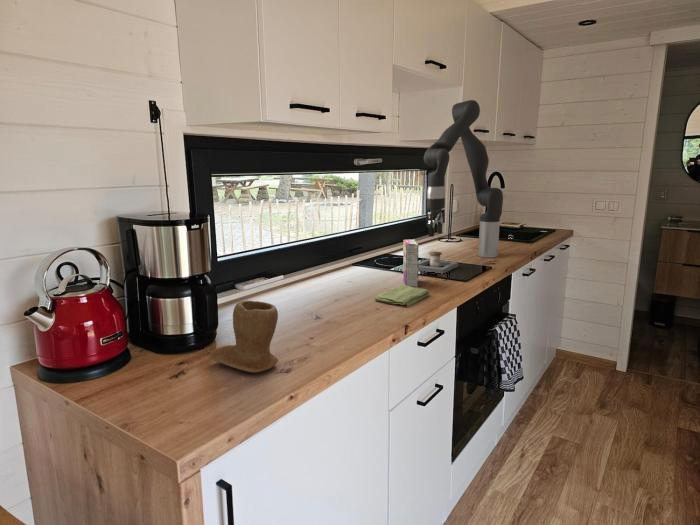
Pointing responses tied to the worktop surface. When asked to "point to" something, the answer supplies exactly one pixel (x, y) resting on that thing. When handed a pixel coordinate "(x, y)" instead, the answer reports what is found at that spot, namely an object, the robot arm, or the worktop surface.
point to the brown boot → (250, 338)
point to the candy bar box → (410, 262)
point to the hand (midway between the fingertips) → (435, 235)
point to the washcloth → (403, 295)
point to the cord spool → (435, 259)
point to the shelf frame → (446, 268)
